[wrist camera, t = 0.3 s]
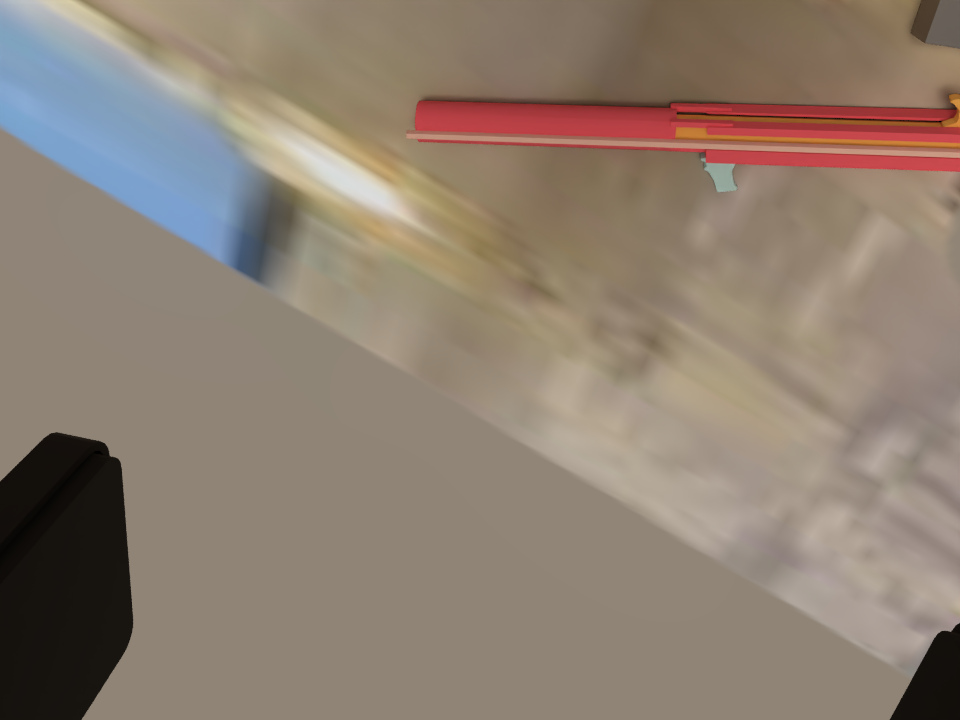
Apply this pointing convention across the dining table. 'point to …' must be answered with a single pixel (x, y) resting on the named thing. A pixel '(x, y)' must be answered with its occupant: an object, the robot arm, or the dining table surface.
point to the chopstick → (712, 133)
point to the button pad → (938, 23)
